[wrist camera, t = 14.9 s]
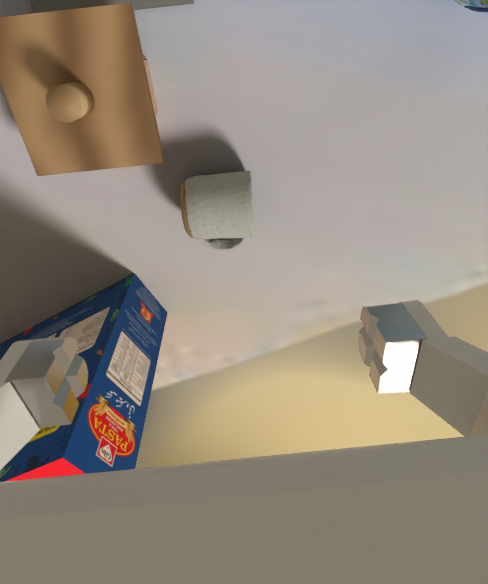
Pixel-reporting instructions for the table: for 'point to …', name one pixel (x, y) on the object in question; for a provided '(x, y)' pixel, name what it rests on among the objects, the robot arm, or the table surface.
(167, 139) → the table surface
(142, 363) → the pasta box
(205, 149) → the table surface
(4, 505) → the robot arm
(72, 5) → the mat
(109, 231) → the table surface
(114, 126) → the lid
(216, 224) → the ceramic mug
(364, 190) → the table surface
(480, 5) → the lunch box
